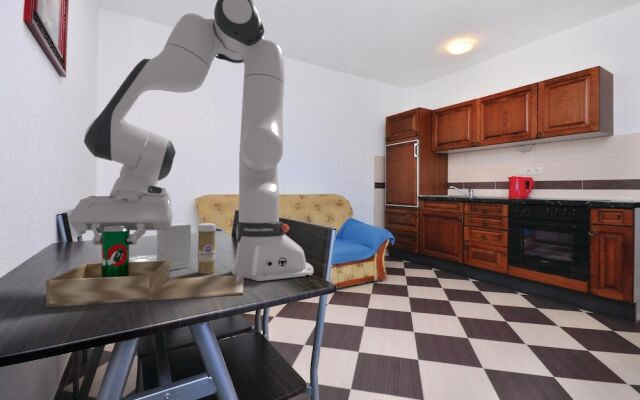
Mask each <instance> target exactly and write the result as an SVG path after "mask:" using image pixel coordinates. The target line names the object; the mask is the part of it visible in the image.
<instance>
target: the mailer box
mask: <svg viewBox="0 0 640 400" xmlns="http://www.w3.org/2000/svg"><path fill="white" fill-rule="evenodd" d="M244 280H245V278H244V277H243V276H238V275H234V274H233V275H219V276H218V275H217V276H199V277H182V278H181V277H178V278H177V277H176V278H175V277H173V278H170V270H169V260H167V261H157V260H144V261H143V260H141V261H129V276H128V277H106V278H101V262H91V263H89V262H88V263H87V262H86V263H84V264H81V265H79V266H77V267H74V268H72V269H69V270H67V271H66V272H63V273H61V274H58V275H57V276H54V277H51V278H49V279H48V280H46V281H45V287H46V288H45V289H46V290H45V292H46V294H45V295H46V296H45V297H46V298H45V299H46V300H45V301H46V302H45V304H46V306H45V307H46V308H52V307H53V308H54V307H55V308H56V307H71V306H73V307H74V306H87V305H101V304H102V305H104V304H115V303H132V302H133V303H134V302H147V301H148V302H150V301H162V300H163V301H164V300H176V299H177V300H179V299H180V300H181V299H191V298H192V299H194V298H206V297H207V298H210V297H224V296H225V297H226V296H227V297H228V296H239V295H240V294H242V295H244V287H245V286H244V282H245V281H244Z"/></svg>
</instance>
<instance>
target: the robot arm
mask: <svg viewBox="0 0 640 400" xmlns="http://www.w3.org/2000/svg"><path fill="white" fill-rule="evenodd" d="M213 16H214V18H210V19H209V18H205V17H204V16H201V15H200V14H197V13H193V12H192V13H191V12H190V13H186V14H183V15H182V16H181V18H179V20H178V21H177V23H176V25H174V27H173V29H172V30H171V32H170V34H169V36H168V38H167V40H166V42H165V45H164V47H163V49H162V51H161V52H160V53H159V54H158V55H156V56H155V57H153V58H143V59H142V60H140V61H139V62H138V63H137V64H136V65H134V67H133V69H132V70H131V71H130V73H129V74H128V75H127V76H126V77H125V79H124V80H123V82H122V84H120V86H119V88H118V89H117V90H116V92H115V93H114V94H113V96H112V97H111V99H110V100H109V101H108V103H107V104H106V106H105V107H104V109H102V111H101V112H100V114H98V116H97V117H96V118H94V120H93V121H91V123H90V124H89V126H88V127H87V129H86V131H85V133H84V140H83V143H84V145H85V147H86V148H87V150H88V151H89V152H90V153H91V155H93V156H94V157H95V158H99V159H103V160H107V161H109V162H110V161H111V162H112V161H113V162H116V163H118V164H121V165H122V167H121V168H120V171H119V177H118V178H116V180H115V181H114V184H113V187H112V189H111V190H110V193H109V195H101V196H100V195H99V196H98V195H89V196H88V197H85V198H81V199H80V200H79V202H78V204H77V205H76V206H75V207H74V208H73V210H72V211H71V212H70V214H69V216H68V218H67V221H68V223H69V225H70V226H71V227H72V229H74V231H78V232H79V231H83V232H84V231H86V232H87V231H88V232H89V231H91V232H93V238H92V239H91V241H92V242H91V243H93V245H94V246H101V231H102V230H103V229H104V226H109V225H127V226H128V229H129V230H130V231H134V232H133V233H130V234H129V235H128V238H127V243H128V244H129V246H130V245H134V246H135V245H136V246H137V242H138V239H140V238H141V237H142V236H144V235H145V234H146V232H147V231H157V230H168V229H169V228H170V227H171V225H172V223H173V211H172V199H171V196H170V194H169V191H168V189H167V188H165V187H162V186H161V187H160V186H158V185H157V184H158V182H159V181H162V180H163V179H165V178H166V177H168V176H169V174H170V172H171V170H172V167H173V163H174V159H175V156H176V152H177V151H176V150H175V149H176V148H175V147H174V144H173V142H172V141H171V140H169V139H168V138H166V137H164V136H161V135H159V134H156V133H153V132H151V131H148V130H145V129H143V128H140V127H138V126H135V125H134V124H133V125H132V124H131V123H128V122H127V121H126V120H125V117H126V116H127V114H128V112H130V111H131V109H132V108H133V106H134V104H135V103H136V102H137V100H138V98H140V96H141V95H142V94H143V93H145V92H148V91H162V92H163V91H165V92H171V93H191V92H194V91H195V90H198V89H199V88H200V87H202V85H203V83H204V81H205V79H206V78H207V76H208V73H209V70H210V68H211V65H212V63H213V61H214V59H215V58H217V59H219V60H223V61H226V62H229V63H232V64H243V65H244V66H243V67H244V71H243V72H244V73H243V87H242V89H243V90H242V101H241V102H242V103H241V105H242V107H241V122H240V123H241V124H240V140H239V153H238V154H239V156H238V158H239V161H238V162H239V163H238V168H239V169H238V171H239V172H238V174H239V175H238V178H239V179H238V221H237V224H236V242H237V246H236V253H235V254H236V256H235V260H234V264H233V268H232V271H231V274H232V275H233V276H234V275H238V276H243V277H244V279H250V280H253V281H257V282H264V281H271V280H281V279H289V278H291V279H292V278H299V277H307V276H306V275H309V276H312V275H313V274H314V266H313V265H312V264H310V263H309V262H307V260H306V255H305V251H304V249H303V247H301V246H300V245H299V244H298V243H297V242H295V241H294V240H293V239H291V238H290V236H288V235H287V233H288V232H289V231H290V226H289V225H288V224H287V223H283V222H282V221H280V190H279V188H280V187H279V176H278V164H279V163H280V162H281V160H282V158H283V154H284V119H283V117H284V116H283V114H284V113H283V110H284V107H283V106H284V96H285V95H284V93H285V63H284V56H283V55H284V54H283V50H282V49H281V47H280V46H279V45H278V44H277V43H276V42H274V41H272V40H270V39H266V38H265V37H264V35H265V34H264V33H265V27H264V25H263V22H262V21H261V20H262V19H261V18H260V16H259V12H258V9H257V7H256V5H255V3H254V2H253V0H216V3H215V6H214V10H213Z"/></svg>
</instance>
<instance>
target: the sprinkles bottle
mask: <svg viewBox="0 0 640 400" xmlns="http://www.w3.org/2000/svg"><path fill="white" fill-rule="evenodd" d="M216 230H217V229H216V224H215V223H210V222H209V223H208V222H206V223H205V222H204V223H199V224H198V225H197V232H198V238H197V239H198V240H197V241H198V242H197V262H198V263H197V274H200V275H210V274H214V273H215V271H216V269H215V263H216V262H215V261H216Z"/></svg>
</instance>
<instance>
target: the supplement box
mask: <svg viewBox="0 0 640 400" xmlns="http://www.w3.org/2000/svg"><path fill="white" fill-rule="evenodd" d="M191 226H192V224H189V223H184V222H176V223H175V222H174V223H173V222H172V225H171V227H170V228H169V229H168V230H156V261H167V260H169V271H174V270H182V269H186V268H191V265H192V261H191V258H192V238H191V237H192V227H191Z"/></svg>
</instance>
